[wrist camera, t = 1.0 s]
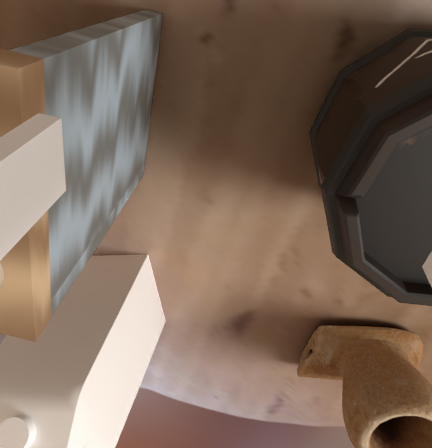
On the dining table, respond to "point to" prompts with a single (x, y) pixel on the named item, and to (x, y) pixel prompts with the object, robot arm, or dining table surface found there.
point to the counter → (77, 151)
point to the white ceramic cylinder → (1, 276)
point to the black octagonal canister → (381, 165)
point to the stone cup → (374, 383)
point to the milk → (83, 360)
